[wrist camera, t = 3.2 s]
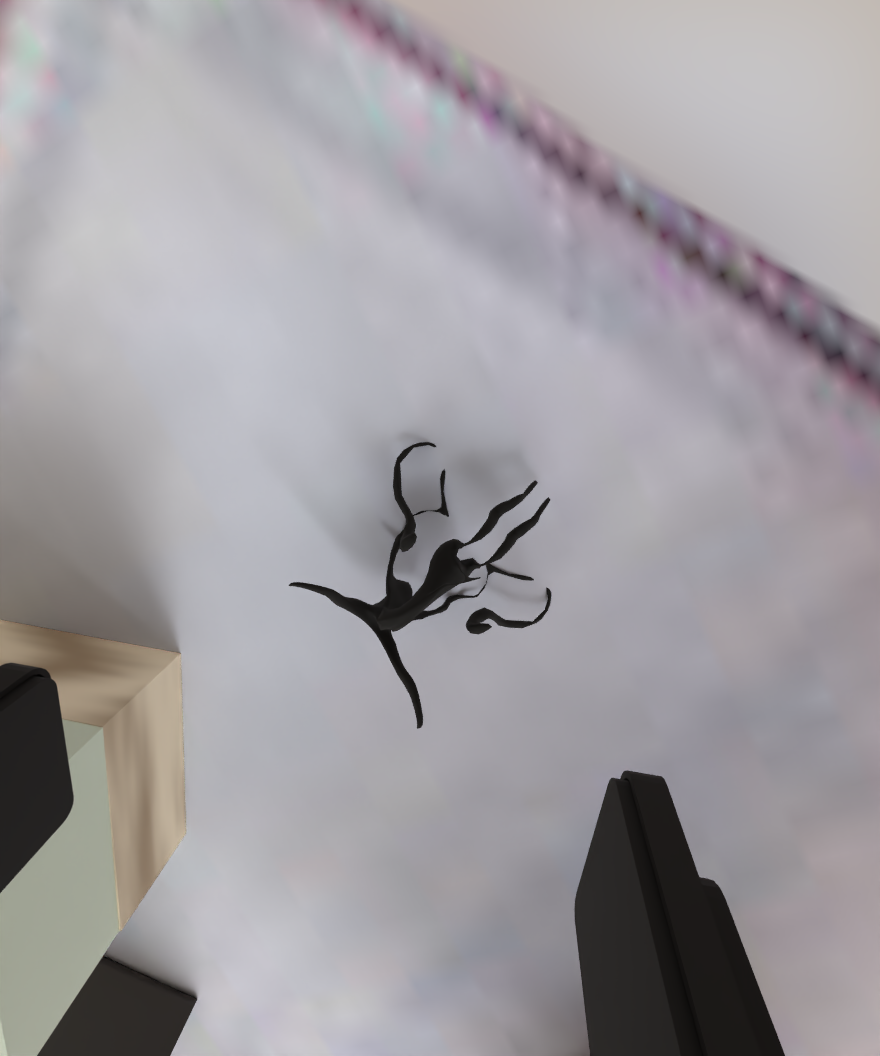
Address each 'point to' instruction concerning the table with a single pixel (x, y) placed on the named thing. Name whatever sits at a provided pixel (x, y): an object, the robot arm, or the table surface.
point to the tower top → (59, 907)
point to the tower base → (121, 739)
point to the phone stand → (120, 1016)
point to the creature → (432, 580)
